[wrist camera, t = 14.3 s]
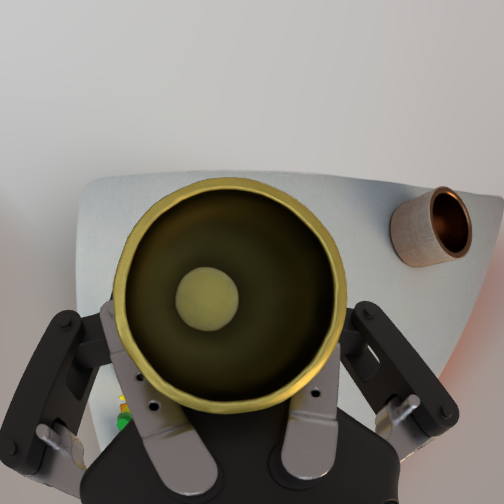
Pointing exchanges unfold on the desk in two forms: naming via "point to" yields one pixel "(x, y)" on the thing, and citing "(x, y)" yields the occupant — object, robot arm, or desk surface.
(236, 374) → the vase
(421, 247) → the planter
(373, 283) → the desk surface
